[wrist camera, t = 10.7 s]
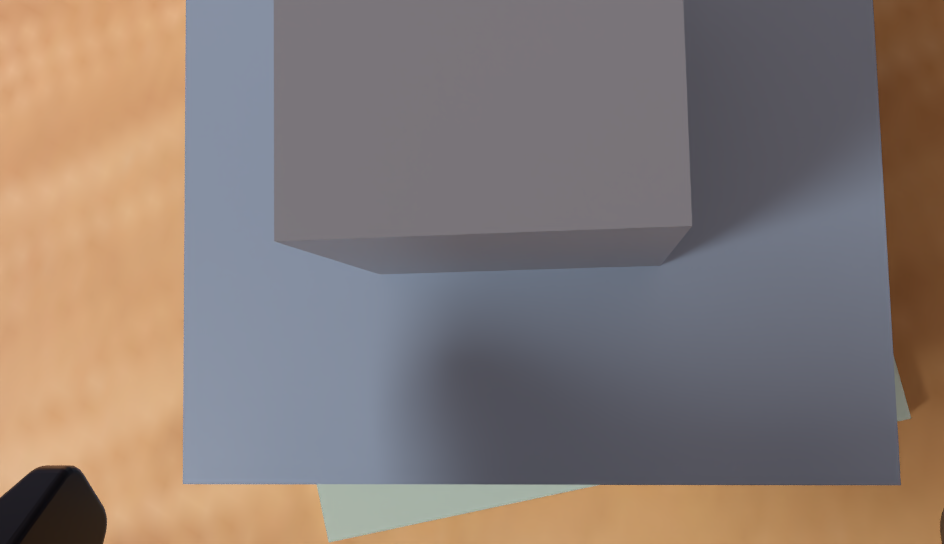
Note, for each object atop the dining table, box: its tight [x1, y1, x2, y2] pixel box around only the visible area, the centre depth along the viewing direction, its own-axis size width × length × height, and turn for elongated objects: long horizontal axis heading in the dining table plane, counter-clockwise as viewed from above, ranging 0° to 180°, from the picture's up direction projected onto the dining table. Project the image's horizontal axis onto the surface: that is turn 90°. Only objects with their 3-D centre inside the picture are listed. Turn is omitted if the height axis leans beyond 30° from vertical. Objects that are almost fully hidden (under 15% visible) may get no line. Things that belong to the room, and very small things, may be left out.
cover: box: [183, 0, 901, 485], centre depth 14 cm, size 10×10×10 cm
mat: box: [317, 355, 911, 542], centre depth 19 cm, size 12×12×1 cm
